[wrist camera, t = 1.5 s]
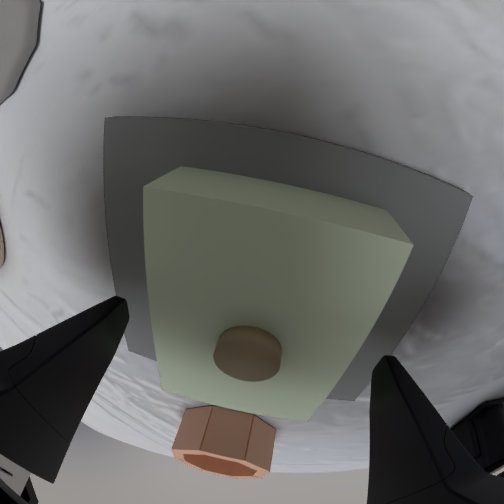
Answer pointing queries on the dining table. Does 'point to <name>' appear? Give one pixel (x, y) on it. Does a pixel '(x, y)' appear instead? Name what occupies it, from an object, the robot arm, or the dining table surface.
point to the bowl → (225, 442)
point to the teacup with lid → (1, 248)
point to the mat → (286, 172)
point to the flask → (16, 40)
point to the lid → (262, 288)
